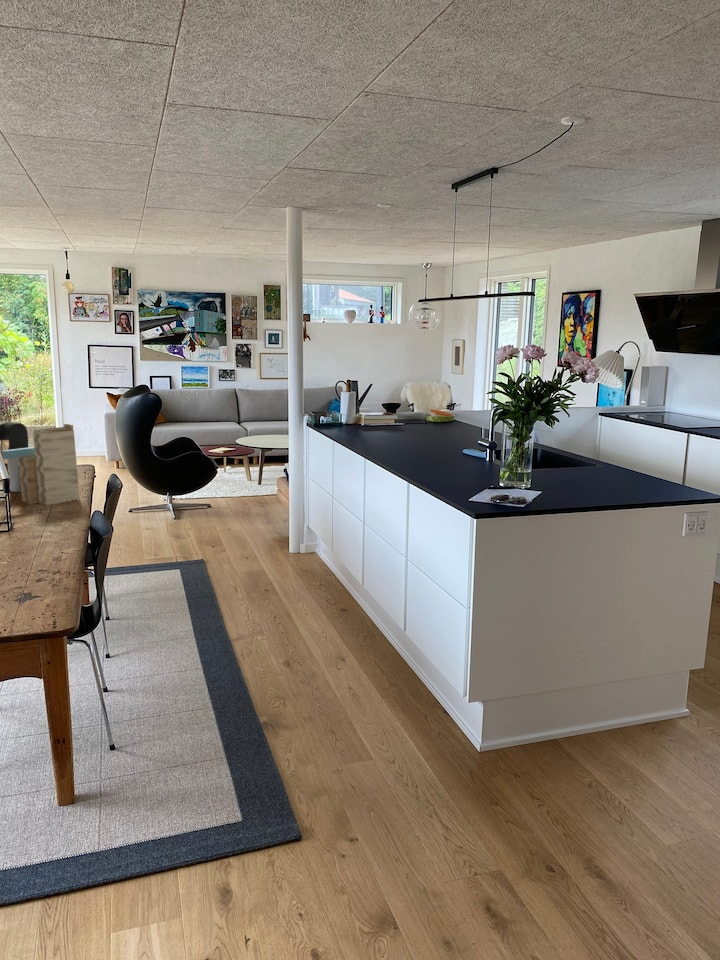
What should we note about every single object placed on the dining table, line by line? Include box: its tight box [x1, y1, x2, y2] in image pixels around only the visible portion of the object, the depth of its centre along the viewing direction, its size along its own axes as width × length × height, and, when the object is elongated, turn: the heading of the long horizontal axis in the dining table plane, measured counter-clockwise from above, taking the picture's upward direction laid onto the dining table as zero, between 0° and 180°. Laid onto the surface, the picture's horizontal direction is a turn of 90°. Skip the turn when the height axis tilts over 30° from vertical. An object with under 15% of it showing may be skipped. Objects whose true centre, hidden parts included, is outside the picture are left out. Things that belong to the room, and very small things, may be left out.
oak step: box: [18, 456, 39, 505], centre depth 336 cm, size 8×14×21 cm, turn 138°
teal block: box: [2, 446, 35, 460], centre depth 331 cm, size 4×22×4 cm, turn 139°
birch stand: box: [32, 423, 80, 506], centre depth 332 cm, size 8×15×34 cm, turn 138°
